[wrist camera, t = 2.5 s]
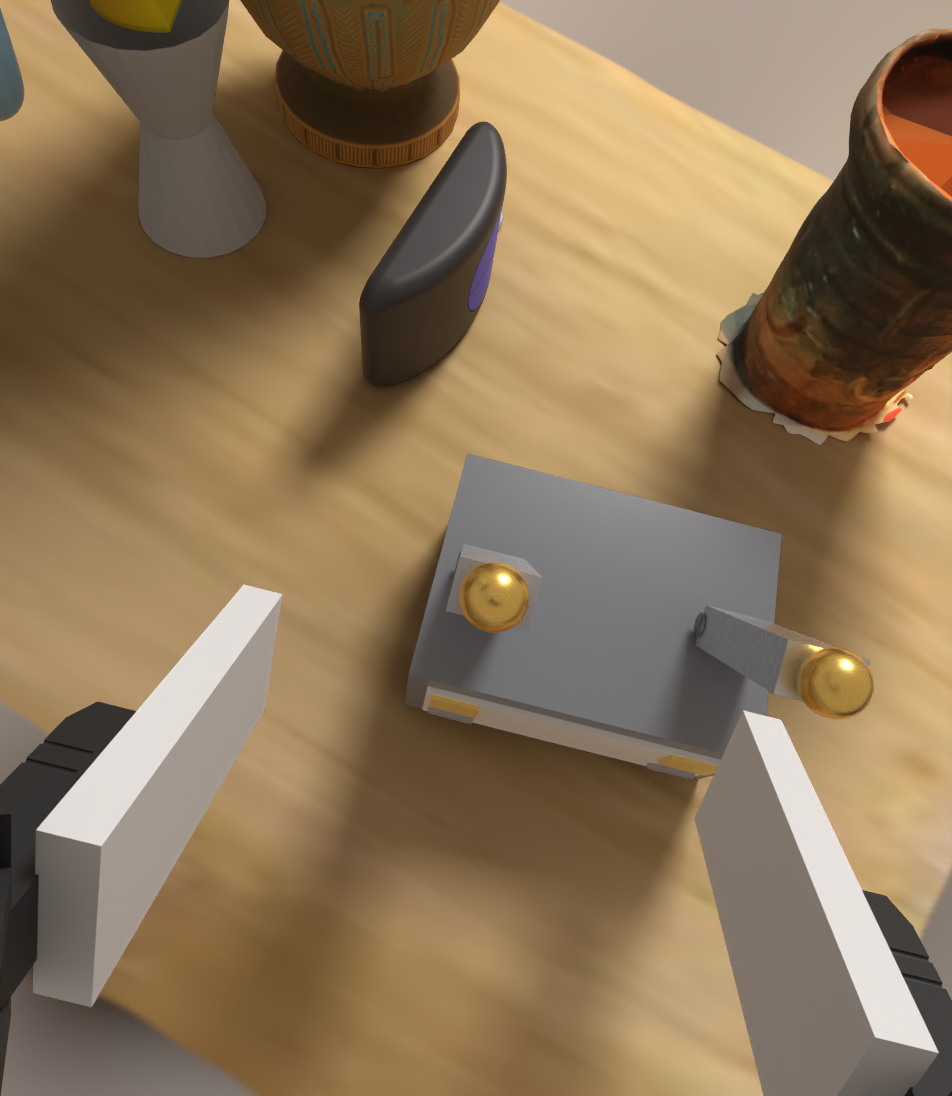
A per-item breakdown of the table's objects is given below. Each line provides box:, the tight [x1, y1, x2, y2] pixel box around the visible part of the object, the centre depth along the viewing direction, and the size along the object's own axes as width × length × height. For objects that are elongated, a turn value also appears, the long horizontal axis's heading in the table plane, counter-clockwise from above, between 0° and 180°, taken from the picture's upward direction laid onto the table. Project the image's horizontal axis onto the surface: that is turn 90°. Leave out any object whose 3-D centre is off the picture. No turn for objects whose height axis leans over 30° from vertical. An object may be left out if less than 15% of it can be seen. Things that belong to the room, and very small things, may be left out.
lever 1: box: [446, 544, 542, 633], centre depth 32 cm, size 3×2×13 cm
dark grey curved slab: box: [359, 122, 507, 386], centre depth 50 cm, size 16×5×9 cm, turn 155°
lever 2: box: [694, 605, 874, 719], centre depth 32 cm, size 3×2×13 cm
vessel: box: [717, 29, 952, 445], centre depth 46 cm, size 14×14×20 cm
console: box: [405, 453, 782, 779], centre depth 42 cm, size 17×13×8 cm
